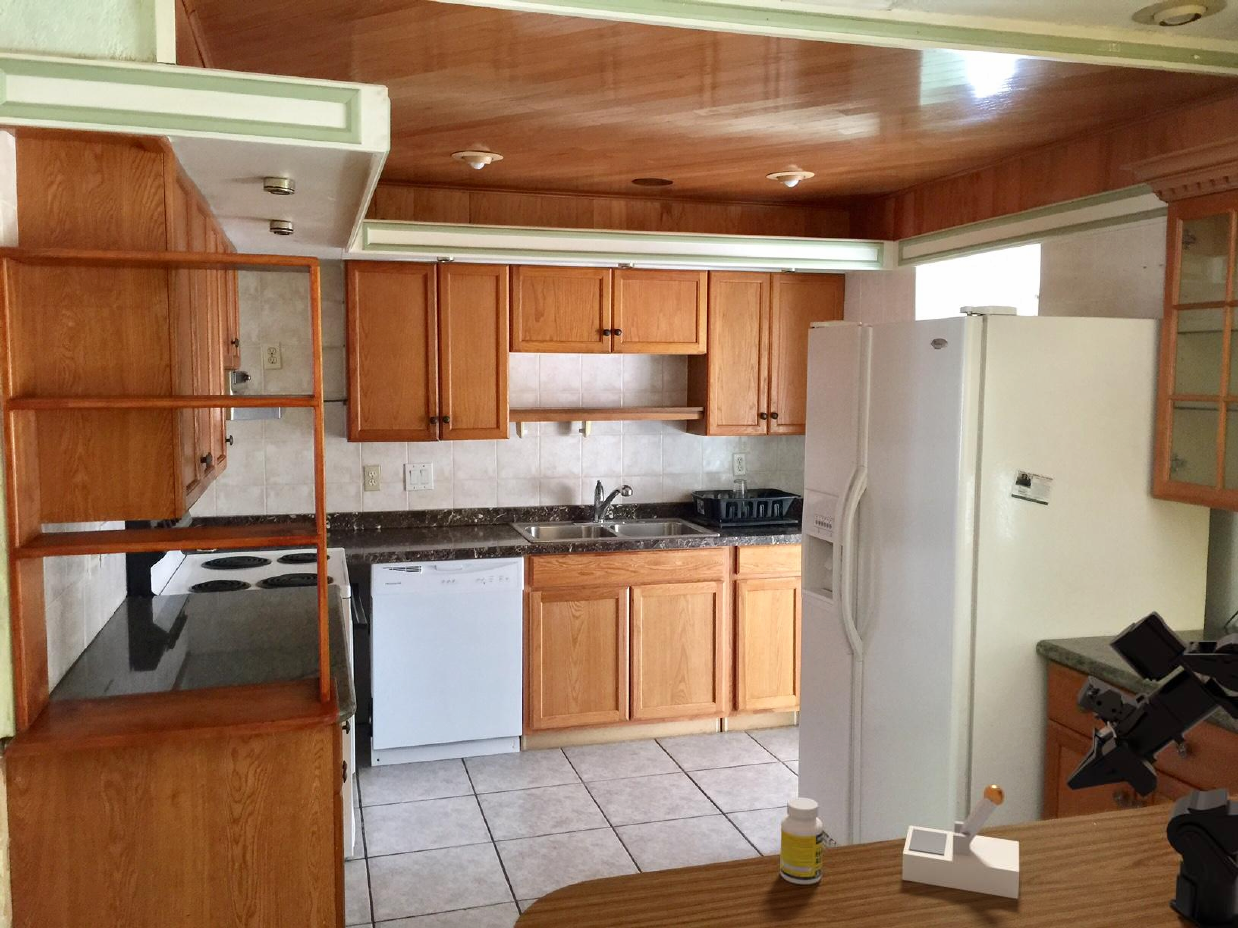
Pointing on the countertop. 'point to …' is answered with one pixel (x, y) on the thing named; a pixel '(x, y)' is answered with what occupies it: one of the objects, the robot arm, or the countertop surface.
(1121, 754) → the robot arm
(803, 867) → the supplement bottle
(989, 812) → the switch lever
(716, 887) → the countertop surface
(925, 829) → the switch box
